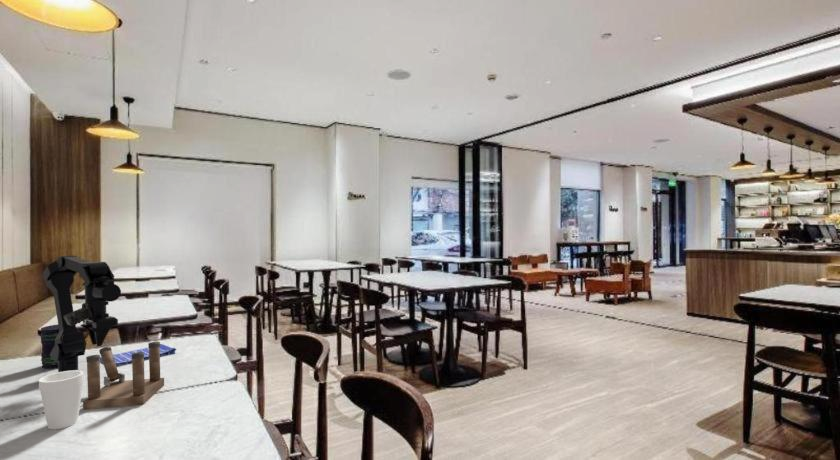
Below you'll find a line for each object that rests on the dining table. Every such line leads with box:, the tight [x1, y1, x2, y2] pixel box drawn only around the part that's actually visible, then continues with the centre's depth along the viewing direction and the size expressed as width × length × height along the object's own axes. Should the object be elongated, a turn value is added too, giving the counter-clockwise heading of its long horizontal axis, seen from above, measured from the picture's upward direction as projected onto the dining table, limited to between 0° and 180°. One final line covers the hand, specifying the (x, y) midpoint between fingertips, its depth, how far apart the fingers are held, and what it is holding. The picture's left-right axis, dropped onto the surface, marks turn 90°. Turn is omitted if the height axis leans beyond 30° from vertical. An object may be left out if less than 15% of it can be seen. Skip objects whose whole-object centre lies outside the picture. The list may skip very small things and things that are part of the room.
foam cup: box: [38, 369, 85, 430], centre depth 118 cm, size 10×9×13 cm
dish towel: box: [100, 343, 177, 368], centre depth 180 cm, size 17×24×3 cm
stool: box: [82, 341, 165, 410], centre depth 137 cm, size 17×17×15 cm
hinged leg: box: [98, 346, 120, 382], centre depth 143 cm, size 3×3×11 cm
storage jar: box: [40, 324, 59, 370], centre depth 170 cm, size 10×10×15 cm
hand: (96, 345), depth 149 cm, fingers open, 4 cm apart
